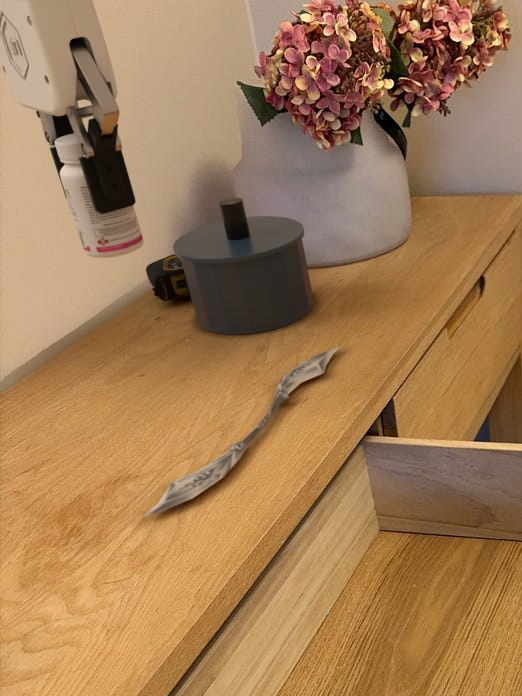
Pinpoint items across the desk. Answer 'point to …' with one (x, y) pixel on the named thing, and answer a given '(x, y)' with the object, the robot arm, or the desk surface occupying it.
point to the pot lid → (238, 237)
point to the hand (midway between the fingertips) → (100, 200)
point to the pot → (251, 292)
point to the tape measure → (168, 278)
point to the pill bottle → (94, 228)
